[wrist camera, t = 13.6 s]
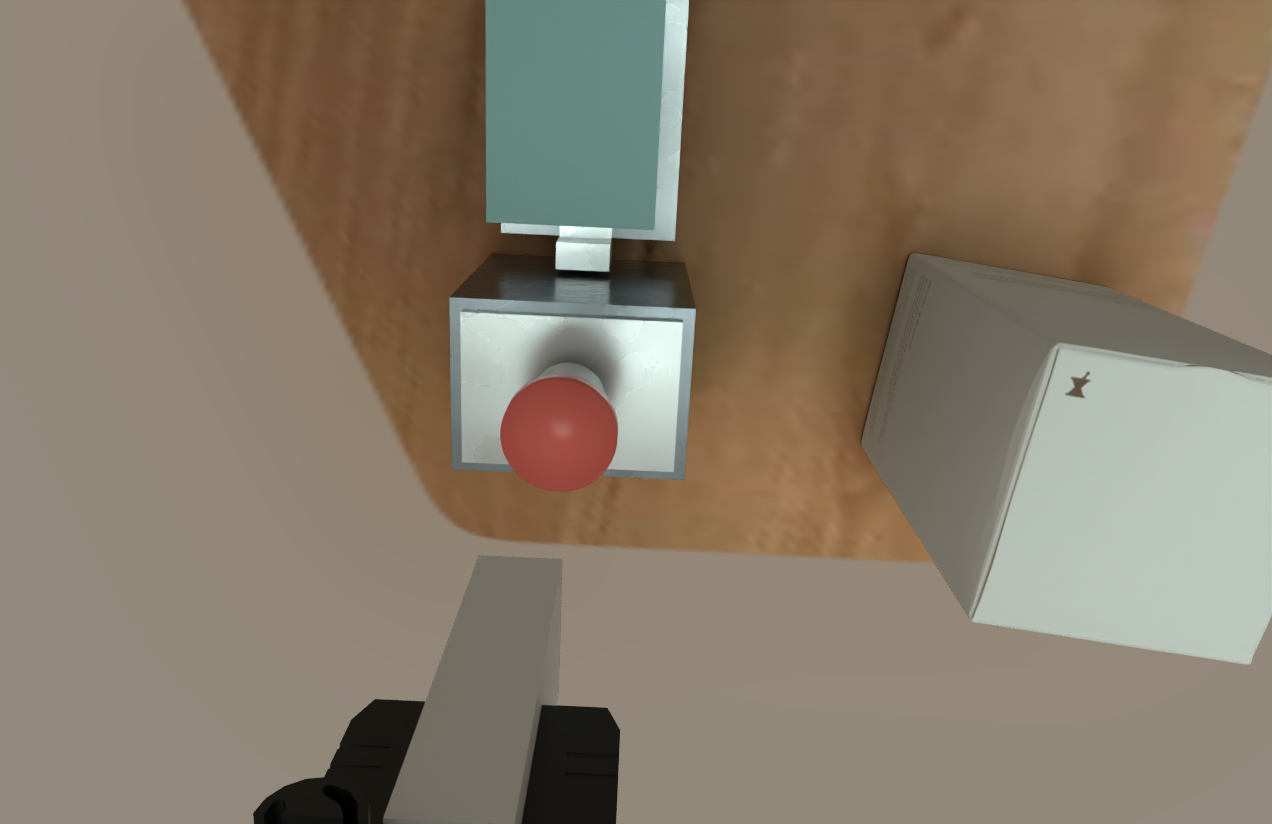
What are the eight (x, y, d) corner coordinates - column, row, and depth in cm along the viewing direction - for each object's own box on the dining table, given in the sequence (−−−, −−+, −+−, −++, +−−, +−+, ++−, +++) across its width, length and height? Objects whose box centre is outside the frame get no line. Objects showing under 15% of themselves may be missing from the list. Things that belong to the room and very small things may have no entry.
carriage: (527, -2, 36) (485, -36, 26) (661, 5, 36) (667, -27, 26) (526, 190, 38) (486, 222, 29) (652, 196, 38) (654, 230, 29)
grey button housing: (491, 253, 40) (447, 299, 31) (684, 263, 40) (695, 311, 31) (491, 392, 42) (450, 472, 33) (676, 401, 42) (684, 483, 33)
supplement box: (853, 449, 42) (958, 628, 28) (906, 248, 40) (1053, 334, 25) (1052, 483, 43) (1255, 677, 29) (1119, 286, 40) (1380, 393, 26)
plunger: (517, 345, 31) (500, 378, 27) (622, 350, 31) (619, 383, 27) (516, 444, 32) (500, 488, 28) (618, 448, 32) (614, 494, 28)
